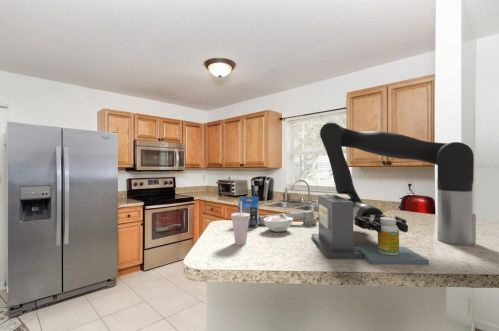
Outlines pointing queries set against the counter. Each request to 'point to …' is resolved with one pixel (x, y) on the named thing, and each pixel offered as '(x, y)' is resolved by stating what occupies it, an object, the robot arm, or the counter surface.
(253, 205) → the label tape box
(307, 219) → the grey knobbed handle
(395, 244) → the supplement bottle
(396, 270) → the counter surface
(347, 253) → the mounted unit
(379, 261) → the mat
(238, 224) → the smoothie
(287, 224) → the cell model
